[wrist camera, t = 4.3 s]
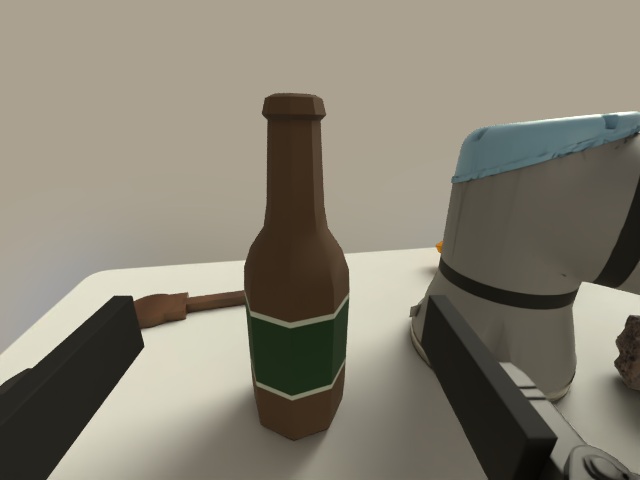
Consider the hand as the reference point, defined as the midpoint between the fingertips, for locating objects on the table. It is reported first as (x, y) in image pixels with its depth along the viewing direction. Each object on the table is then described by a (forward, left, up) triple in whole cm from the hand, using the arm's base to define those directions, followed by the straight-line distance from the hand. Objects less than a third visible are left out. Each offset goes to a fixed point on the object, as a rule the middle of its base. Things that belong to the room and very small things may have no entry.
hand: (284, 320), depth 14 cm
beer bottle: (-2, -8, -14) cm, 16 cm away
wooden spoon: (+6, -25, -14) cm, 29 cm away
